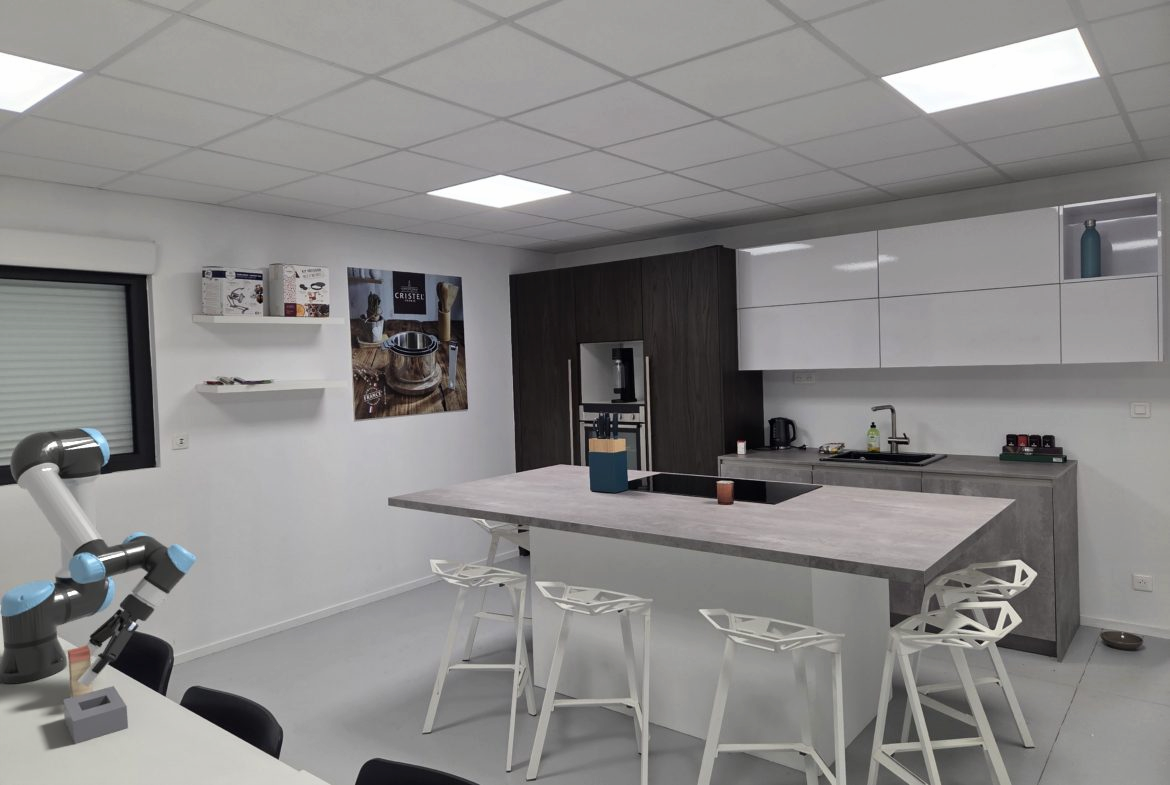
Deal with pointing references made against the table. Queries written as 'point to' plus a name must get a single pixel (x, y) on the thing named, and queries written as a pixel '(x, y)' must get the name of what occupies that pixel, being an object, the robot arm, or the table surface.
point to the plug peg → (78, 669)
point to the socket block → (95, 714)
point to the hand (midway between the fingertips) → (77, 675)
